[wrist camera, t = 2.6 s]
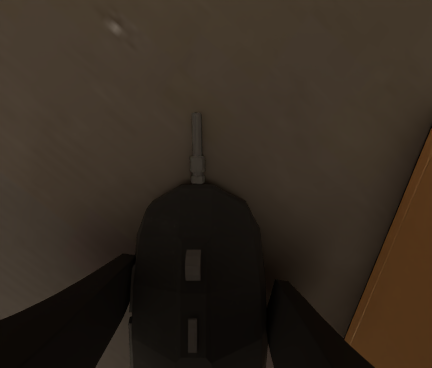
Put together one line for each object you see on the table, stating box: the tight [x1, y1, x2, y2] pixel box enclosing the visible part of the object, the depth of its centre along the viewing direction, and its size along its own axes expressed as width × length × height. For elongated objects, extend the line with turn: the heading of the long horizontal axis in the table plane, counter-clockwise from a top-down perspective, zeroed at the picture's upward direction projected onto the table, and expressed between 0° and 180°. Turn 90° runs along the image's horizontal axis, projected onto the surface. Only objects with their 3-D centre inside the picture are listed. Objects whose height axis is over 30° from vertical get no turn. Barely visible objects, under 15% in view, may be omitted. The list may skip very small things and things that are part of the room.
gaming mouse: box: [128, 113, 268, 368], centre depth 9 cm, size 6×15×4 cm, turn 1°
